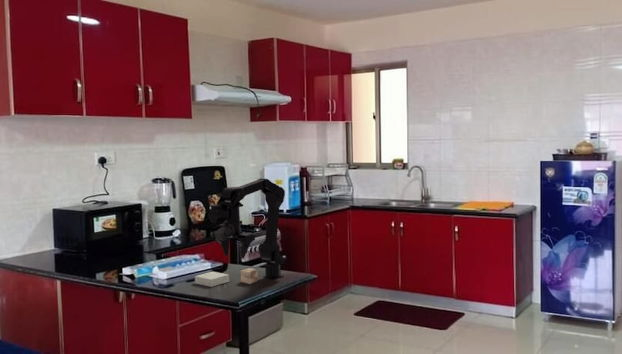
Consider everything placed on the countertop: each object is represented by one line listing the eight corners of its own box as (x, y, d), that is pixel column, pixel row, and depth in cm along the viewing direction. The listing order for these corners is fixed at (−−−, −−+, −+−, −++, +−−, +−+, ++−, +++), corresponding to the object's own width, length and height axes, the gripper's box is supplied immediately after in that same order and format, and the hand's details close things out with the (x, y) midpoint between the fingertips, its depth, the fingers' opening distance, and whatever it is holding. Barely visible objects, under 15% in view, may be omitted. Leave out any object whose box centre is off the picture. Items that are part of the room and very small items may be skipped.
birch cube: (249, 279, 247) (248, 268, 247) (257, 281, 244) (257, 269, 244) (240, 282, 243) (240, 270, 243) (249, 283, 240) (249, 272, 240)
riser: (212, 278, 250) (212, 271, 250) (229, 281, 244) (228, 274, 244) (195, 283, 242) (194, 276, 242) (211, 286, 236) (211, 279, 236)
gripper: (201, 220, 231) (203, 258, 233) (235, 224, 220) (237, 264, 221) (221, 216, 240) (223, 252, 241) (255, 219, 229) (256, 258, 230)
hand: (234, 257), depth 233 cm, fingers open, 9 cm apart
